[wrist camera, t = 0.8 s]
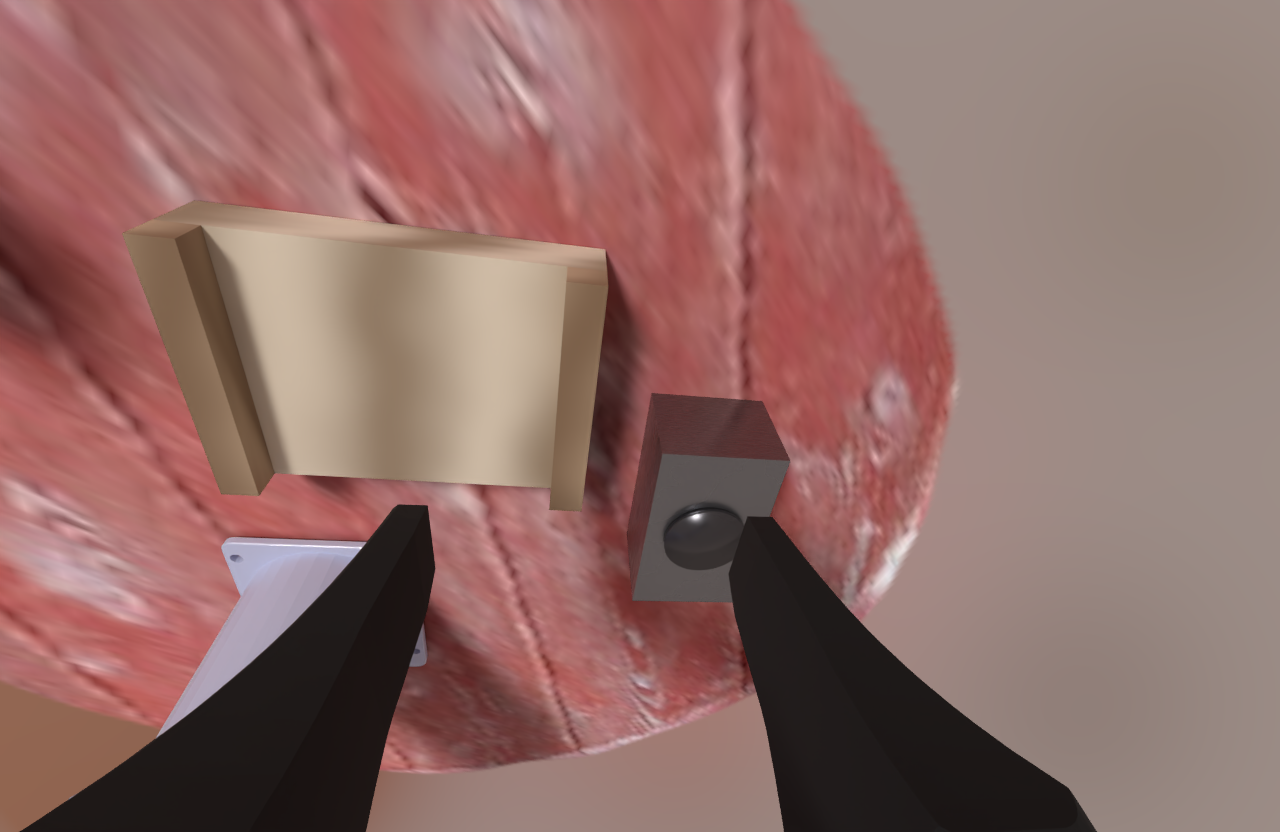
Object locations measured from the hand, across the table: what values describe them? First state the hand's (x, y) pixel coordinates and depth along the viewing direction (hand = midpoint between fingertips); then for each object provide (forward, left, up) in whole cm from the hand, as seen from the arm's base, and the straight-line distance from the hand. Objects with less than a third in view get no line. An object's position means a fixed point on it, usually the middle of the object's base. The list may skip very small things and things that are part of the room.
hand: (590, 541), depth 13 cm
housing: (-6, -5, -10) cm, 12 cm away
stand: (-1, +6, -10) cm, 11 cm away
